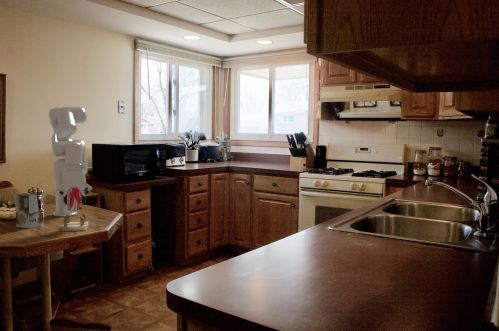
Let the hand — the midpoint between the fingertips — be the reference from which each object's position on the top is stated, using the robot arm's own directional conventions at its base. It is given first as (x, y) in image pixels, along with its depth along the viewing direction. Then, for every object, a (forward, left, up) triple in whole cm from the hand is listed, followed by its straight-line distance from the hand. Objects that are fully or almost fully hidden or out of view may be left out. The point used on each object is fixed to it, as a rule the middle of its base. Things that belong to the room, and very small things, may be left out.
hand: (74, 203), depth 204 cm
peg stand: (0, 0, -12) cm, 12 cm away
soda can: (0, 0, -4) cm, 4 cm away
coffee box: (-8, -23, -12) cm, 27 cm away
